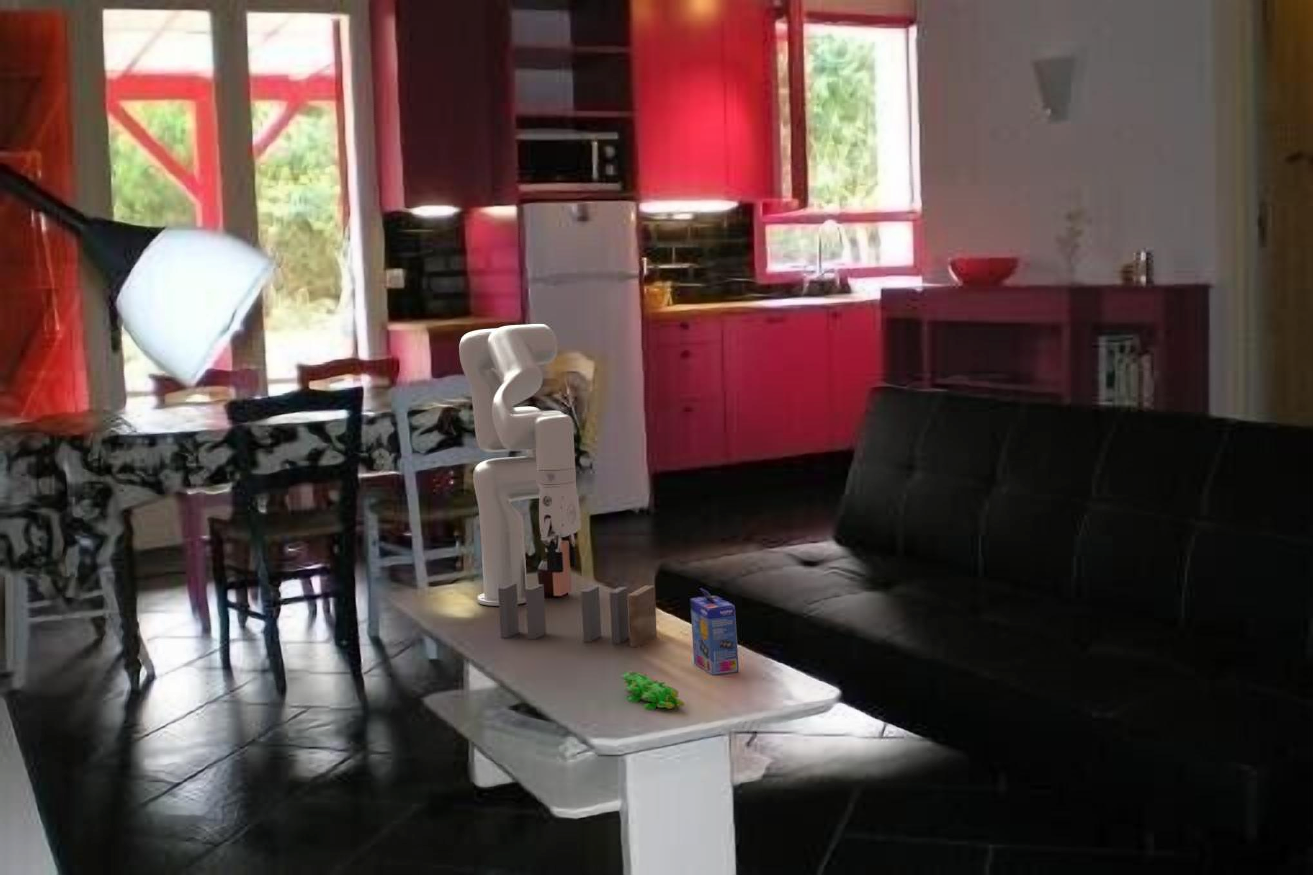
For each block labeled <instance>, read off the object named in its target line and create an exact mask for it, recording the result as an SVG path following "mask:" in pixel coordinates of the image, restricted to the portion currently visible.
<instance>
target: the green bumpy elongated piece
mask: <svg viewBox="0 0 1313 875" xmlns="http://www.w3.org/2000/svg"><path fill="white" fill-rule="evenodd" d="M621 678H622V679H623V680H624V682H623V683H624V684H626V687H625V689H624V691H625V692H626V693H629V694H632V695H631V696H629V697H628V699H627V700H628V701H631V702H635V703H636V702H637V703H638V702H639V701H640V700H643V701H647V702H648V703H646V704H644V706H643V707H644V708H645V709H649V710H655V709H656V707H658V708H667V709H672V708H674V707H675V706H678V707H683V706H684V702H683V701H682V699H679V691H678V690H677V689H676V688H674V687H673V686H670V685H669V684H665V682H664V681H660V682H659V681H657V679H656V680H653V679H650V678H648V676H647V674H644V673H643V674H641V673H638V672H637V671H635V670H633V669H632V670H630V671H627V672H625V673H623V674H622V675H621Z"/></svg>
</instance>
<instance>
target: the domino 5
mask: <svg viewBox="0 0 1313 875" xmlns="http://www.w3.org/2000/svg"><path fill="white" fill-rule="evenodd" d="M609 603H610V604H609V606H610V607H609V608H610V628H611V629H610V630H611V642H612V644H621V643H624V641H626V640H628V639H630V630H629V609H628V586H619V587H617V588H615V589H612V591H610V592H609Z"/></svg>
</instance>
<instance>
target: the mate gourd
mask: <svg viewBox="0 0 1313 875" xmlns="http://www.w3.org/2000/svg"><path fill="white" fill-rule="evenodd" d="M536 573H537V580H538V584H544V598H551V597H553V598H555V599H556V600H557V599H560V597H561V596H554V589H553V572H548V571H547V558H546V559H542V560H540V563H539V564H538V566H537V572H536ZM563 596H569V592H568V593H566V594H564V595H563Z"/></svg>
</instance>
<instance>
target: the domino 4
mask: <svg viewBox="0 0 1313 875" xmlns="http://www.w3.org/2000/svg"><path fill="white" fill-rule="evenodd" d="M580 594H581V609H582V610H581V612H582V613H581V614H582V631H583V633H582V636H583V637H582V638H583V642H584V643H592V642H594V641H596V640H597V639H599V638H600V637H602V626H601V624H602V623H601V608H600V607H601V604H600V603H601V602H600V586H599V585H597V586H596V585H591V586H588V587H587V588H585V589H582V590H581V593H580Z"/></svg>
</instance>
